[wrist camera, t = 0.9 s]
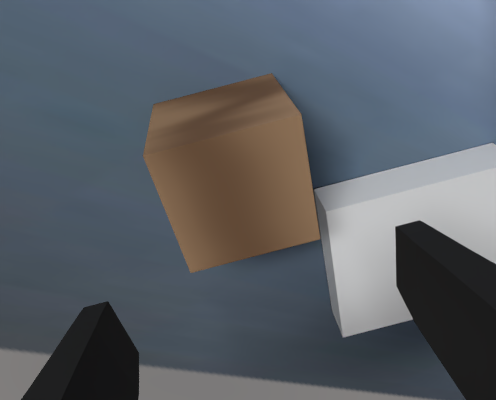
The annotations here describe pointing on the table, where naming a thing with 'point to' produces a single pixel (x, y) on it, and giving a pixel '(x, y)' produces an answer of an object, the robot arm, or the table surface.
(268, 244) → the walnut cube
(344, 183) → the white slab
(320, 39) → the table surface
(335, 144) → the table surface
